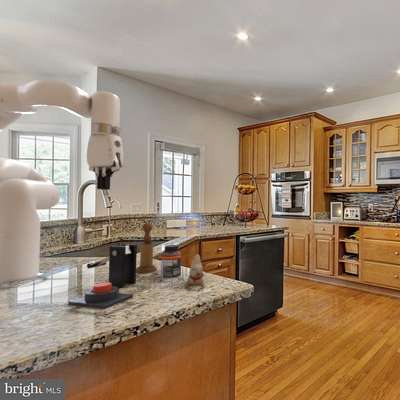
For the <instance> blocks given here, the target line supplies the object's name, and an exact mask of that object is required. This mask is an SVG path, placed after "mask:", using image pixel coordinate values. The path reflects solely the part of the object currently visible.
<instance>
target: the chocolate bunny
mask: <svg viewBox="0 0 400 400" xmlns="http://www.w3.org/2000/svg"><path fill="white" fill-rule="evenodd" d="M204 276H205V274H204V268H203V265H202V262H201V256H200V254H195V256H194V258H193V259H192V261H191V263H190V268H189V275H188V277H187V279H186V284H188V285H190V286H200V285H202V284H203V283H204ZM202 288H203V287H200V288H198V289H197V290H202Z"/></svg>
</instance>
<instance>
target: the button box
mask: <svg viewBox="0 0 400 400" xmlns="http://www.w3.org/2000/svg"><path fill="white" fill-rule="evenodd" d="M133 298H134V294H131V293H123V292H120V288H118V287H114V286H111V291H108V292H103V293H93V288H90V289H88V290H86V291H85V292H84V296H81V297H78V298H74V299H72V300H69V301H68V302H67V305H68V306H74V307H83V308H92V309H100V310H106V309H108V308H111V307H114V306H116V305H118V304H120V303H123V302H126V301H128V300H130V299H133Z"/></svg>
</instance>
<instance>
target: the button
mask: <svg viewBox="0 0 400 400" xmlns="http://www.w3.org/2000/svg"><path fill="white" fill-rule="evenodd" d="M111 285H112V284H111V283H109V281H108V282H107V281H105V282H104V281H103V282H99V283H95V284H93V285H92V289H93V293H103V292H108V291H111Z"/></svg>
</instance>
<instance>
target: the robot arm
mask: <svg viewBox="0 0 400 400" xmlns="http://www.w3.org/2000/svg"><path fill="white" fill-rule="evenodd" d="M42 106H44V107H55V108H56V107H57V108H62V109H64V110H66V111H68V112H70V113H72V114H74V115H76V116H78V117H81V118H84V119H90V135H89V138H88V141H87V142H88V143H87V147H86V164H87V166H88V170H89V171H90V172H93V173H94V174H95V177H96V189H97V190H103V191H110V190H111V178H113V174H115V172H119V171H120V170H121V168H123V167H124V163H125V162H124V159H125V155H124V144H123V140H122V137H121V136H120V133H121V132H122V131H121V128H120V127H121V126H120V124H121V123H120V121H121V100H120V97H119V96H118V95H117V94H114V93H112V92H109V91H105V90H97V91H96V90H95V91H94V92H92V94H89V93H87V92H85V91H84V90H83V89H81V88H80V87H77V86H76V85H74V84H72V83H69V82H65V81H59V80H48V79H34V80H31V81H28V82H26V83H14V82H0V132H2V131H4V130H5V129H6V128H8V127H9V126H10V125H11V124H13V123H15V122H16V121H18V120H19V119H20V118H21V117H22V116H23V115H24V114H35V113H38V112H39V111H40V110H41V108H42ZM60 200H61V192H60V190H59V188H58V187H57V186H56V184H54V183H53V182H52V181H51V180H50V179H48V178H47V177H46V176H44V175H43V174H42V173H41V172H39V171H38V170H37V169H36V168H34V167H33V166H31V165H30V164H28V163H27V162H24V161H23V160H18V159H13V158H9V157H8V158H7V157H4V156H0V284H4V283H10V282H19V281H25V280H31V279H34V278H37V277H39V276H40V275H42V273H40V259H41V258H40V256H41V255H40V254H41V217H40V215H39V213H38V211H37V210H48V209H51V208H53V207H55V206H56V205H58V203H59V202H60Z"/></svg>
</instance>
